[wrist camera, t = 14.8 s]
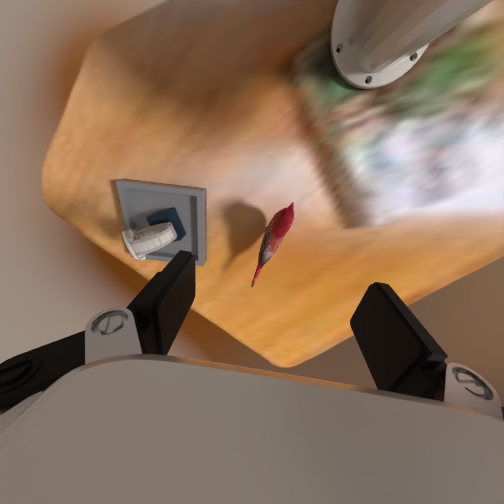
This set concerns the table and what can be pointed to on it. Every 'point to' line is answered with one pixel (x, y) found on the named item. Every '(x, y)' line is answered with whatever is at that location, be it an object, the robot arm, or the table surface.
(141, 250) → the watch
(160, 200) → the tray
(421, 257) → the table surface
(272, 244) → the decorative bird figurine
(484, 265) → the table surface
